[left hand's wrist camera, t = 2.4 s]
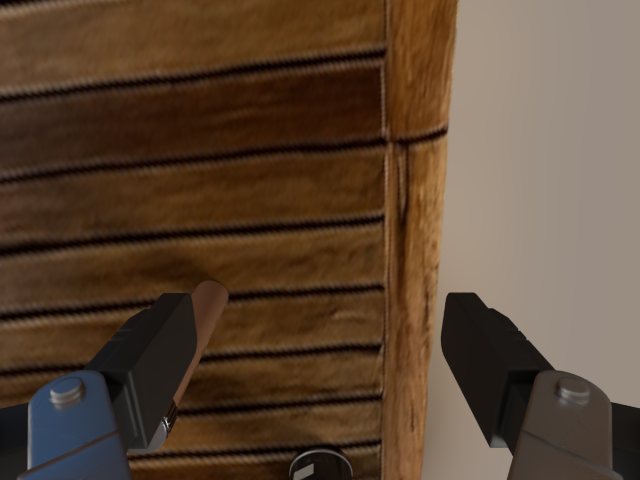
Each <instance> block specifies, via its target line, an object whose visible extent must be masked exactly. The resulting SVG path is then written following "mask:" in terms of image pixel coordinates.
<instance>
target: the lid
mask: <svg viewBox="0 0 640 480" xmlns="http://www.w3.org/2000/svg"><path fill="white" fill-rule="evenodd" d="M177 414H178V412H177V407H176V403H175V401H174V400H173V399H172V401H171V403H170V405H169V407H168V409H167V411H166V413H165V415H164V417H163V419H162V421H161V423H160V425H159V427H158V429H157V431H156V433H155V435H154V437H153V439H152V441H151V443H150V445H149V446H148V448H147V449H129V450H128V451H127V452H128V453H133V454H145V453H149V452H152V451H155V450H157V449H158V448H159V447H161V446H162V444H163V443H164V441H165V440H166V439H167V437H168V435H169V433H170V431H171V429H172V427H173V425H174V423H175V421H176V418H177V417H176V416H177Z"/></svg>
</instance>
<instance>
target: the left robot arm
mask: <svg viewBox="0 0 640 480" xmlns="http://www.w3.org/2000/svg"><path fill="white" fill-rule="evenodd" d="M441 347H442V352H443V355H444V357H445V359H446V361H447V363H448V365H449V367H450V369H451V371H452V373H453V375H454V377H455V379H456V381H457V383H458V385H459V387H460V389H461V391H462V393H463V395H464V397H465V399H466V401H467V403H468V405H469V407H470V409H471V411H472V413H473V415H474V417H475V419H476V421H477V423H478V425H479V427H480V429H481V431H482V433H483V435H484V437H485V439H486V441H487V443H488V445H489V447H490V448H509V450H510V452H511V454H512V455H513V459H512V463H511V467H510V470H509V474H508V477H507V480H640V408H635V407H631V406H627V405H622V404H618V403H613V402H610V400H609V398H608V397H607V395H606V394H605V393H604V392H603V391H602V390H601V389H600V388H598V387H597V386H596V385H594V384H593V383H591V382H589V381H588V380H586V379H584V378H582V377H580V376H577V375H574V374H571V373H568V372H564V371H558V370H555V369H554V368H553V367H552V366H551V364H550V363H549V362H548V361H547V360H546V359H545V358H544V357H543V356H542V355H541V353H540V352H539V351H538V350H537V349H536V348H535V347H534V346H533V345H532V343H531V342H530V341H529V340H526V337H525V336H524V335H523V333H522V332H521V331H518V328H517V327H516V326H515V325H514V324H513V322H512V321H511V320H510V319H509V318H508V317H506V316H505V315H503V314H501V313H500V312H498V311H496V310H495V309H493V308H488V307H487V306H486V305H485V304H484V303H483V302H482V300H481V299H480V298H479V297H478V296H477V295H476V294H475V293H449V294H448V295H447V297H446V303H445V310H444V317H443V324H442V331H441ZM196 349H197V331H196V324H195V317H194V310H193V302H192V298H191V295H190V294H189V293H163V294H162V295H161V296H160V297H159V298H158V300H157V301H156V302H155V303H154V304H153V305H152V307H151V308H150V309H144V310H142V311H141V312H139V313H137V314H136V315H134V316H133V317H131V318H129V319H128V320H127V322H126V323H125V324H124V325H123V326H122V327H121V328H120V329H119V332H117V333H116V334H115V335H114V336H113V337H112V338H111V341H108V342H107V344H106V345H105V346H104V347H103V348H102V349H101V350H100V351H99V352H98V353H97V355H96V356H95V357H94V358H93V359H92V360H91V361H90V362H89V363H88V364H87V365H86V367H85V368H84V369H83V370H82V371H76V372H72V373H69V374H66V375H63V376H60V377H58V378H56V379H54V380H52V381H51V382H49V383H47V384H46V385H44V386H43V387H42V388H40V389H39V390H38V391H37V392H36V393H35V394H34V395H33V397H32V398H31V400H30V402H29V403H25V404H20V405H16V406H11V407H7V408H2V409H0V480H133V477H132V474H131V470H130V467H129V463H128V459H127V456H126V453H127V451H128V450H129V449H147V448H148V446H149V445H150V443H151V441H152V439H153V437H154V435H155V433H156V431H157V429H158V427H159V425H160V423H161V421H162V419H163V417H164V415H165V413H166V411H167V409H168V407H169V405H170V403H171V401H172V399H173V397H174V395H175V393H176V391H177V389H178V387H179V386H180V384H181V382H182V380H183V378H184V376H185V374H186V372H187V370H188V368H189V366H190V364H191V362H192V360H193V358H194V356H195V353H196ZM289 475H290V480H352V465H351V462H350V460H349V459H348V457H347V456H346V455H345V454H343V453H342V452H340V451H339V450H336V449H334V448H330V447H312V448H308V449H306V450H303V451H301V452H300V453H298V454H297V455H296V456H295V457H294V458H293V460H292V462H291V464H290V472H289Z"/></svg>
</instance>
